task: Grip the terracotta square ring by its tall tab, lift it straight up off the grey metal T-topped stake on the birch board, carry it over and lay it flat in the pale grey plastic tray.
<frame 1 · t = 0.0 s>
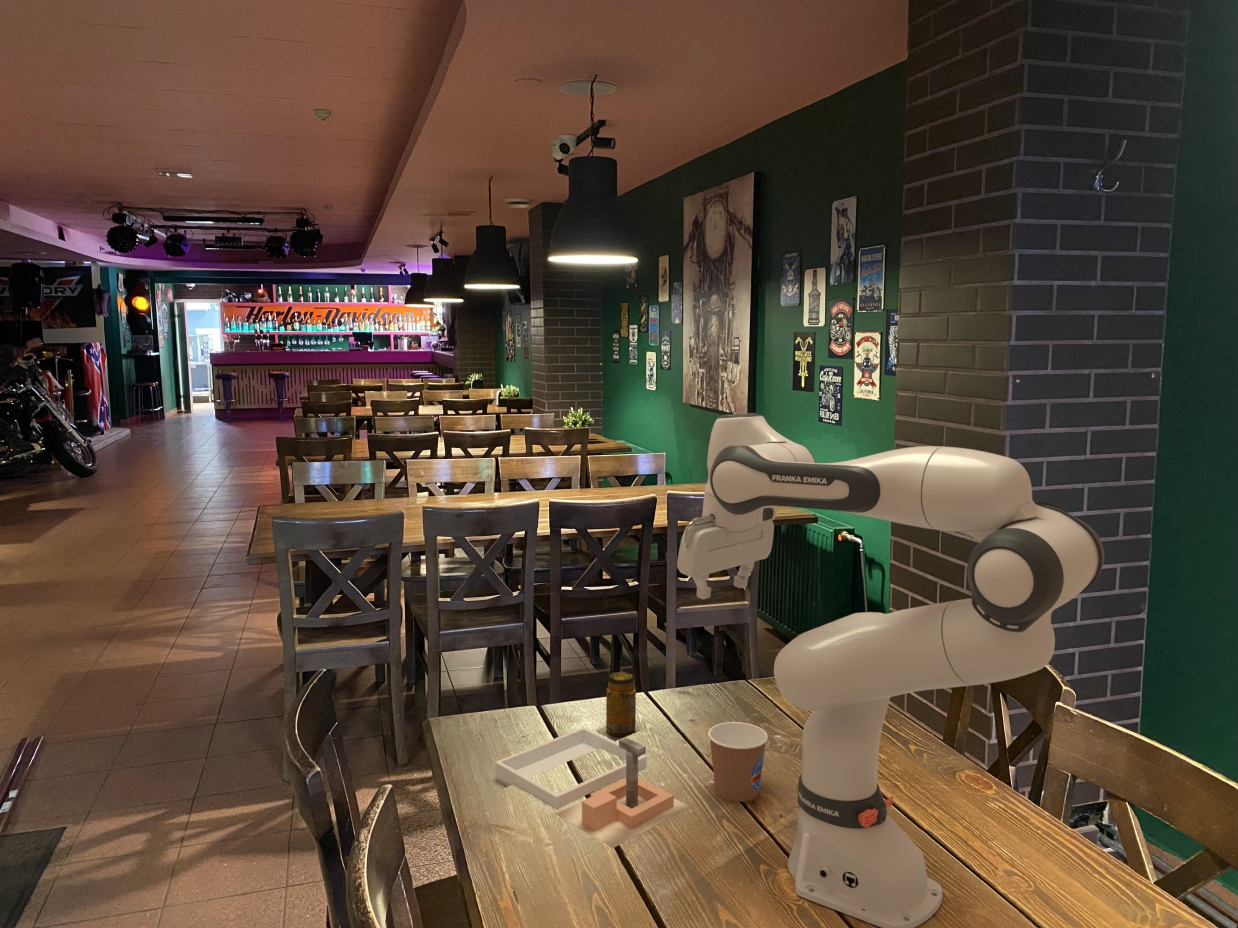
hand: (722, 592, 146), 39 cm above the table, tool pointing down, fingers open, 8 cm apart
condiment: (623, 734, 182), on the table
coffee cup: (736, 799, 156), on the table
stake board: (623, 818, 149), on the table
tray: (571, 777, 164), on the table
ring: (631, 805, 150), point 1 cm above the table, touching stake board
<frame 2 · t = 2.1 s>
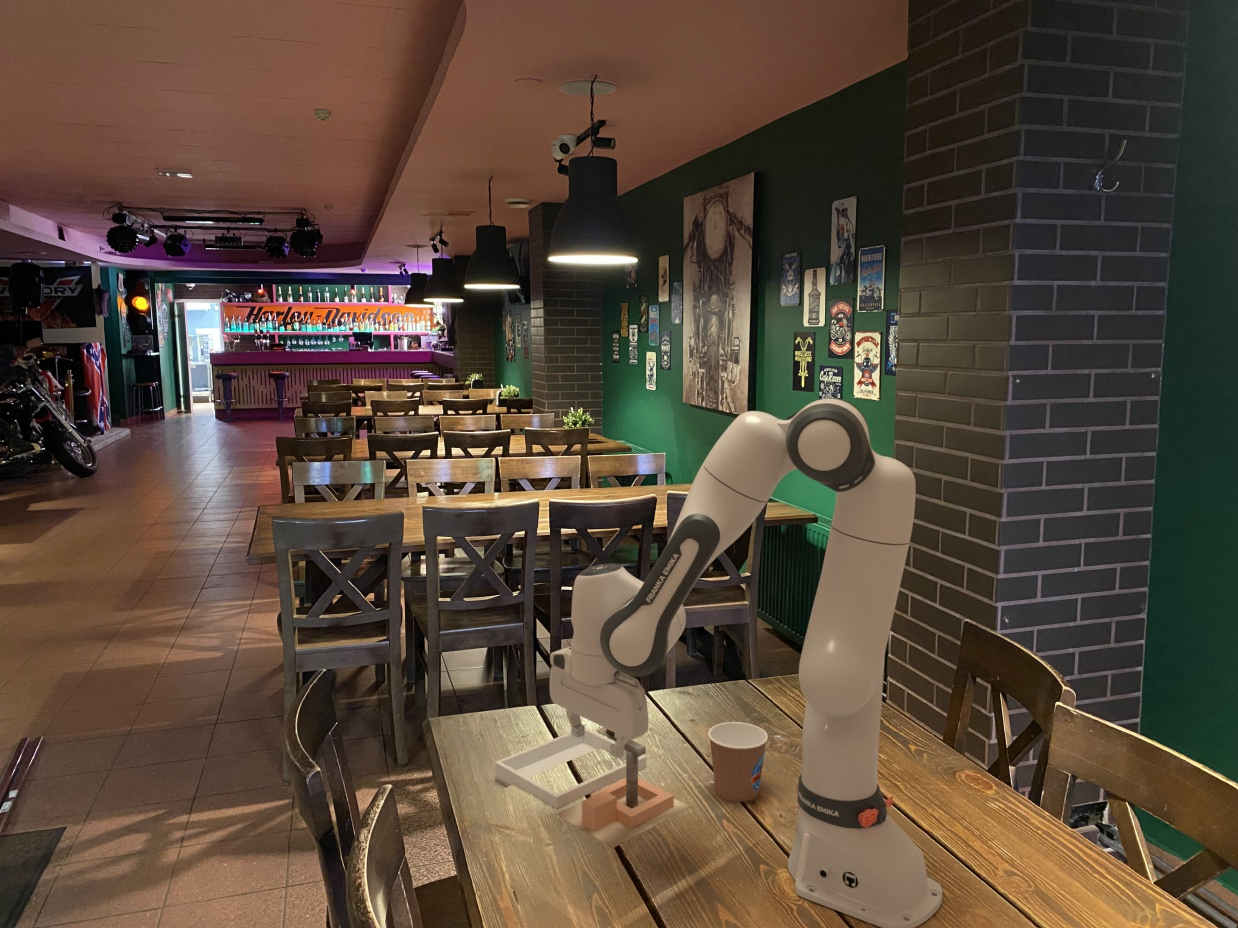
hand: (596, 745, 144), 15 cm above the table, tool pointing down, fingers open, 8 cm apart
nothing on the table moved.
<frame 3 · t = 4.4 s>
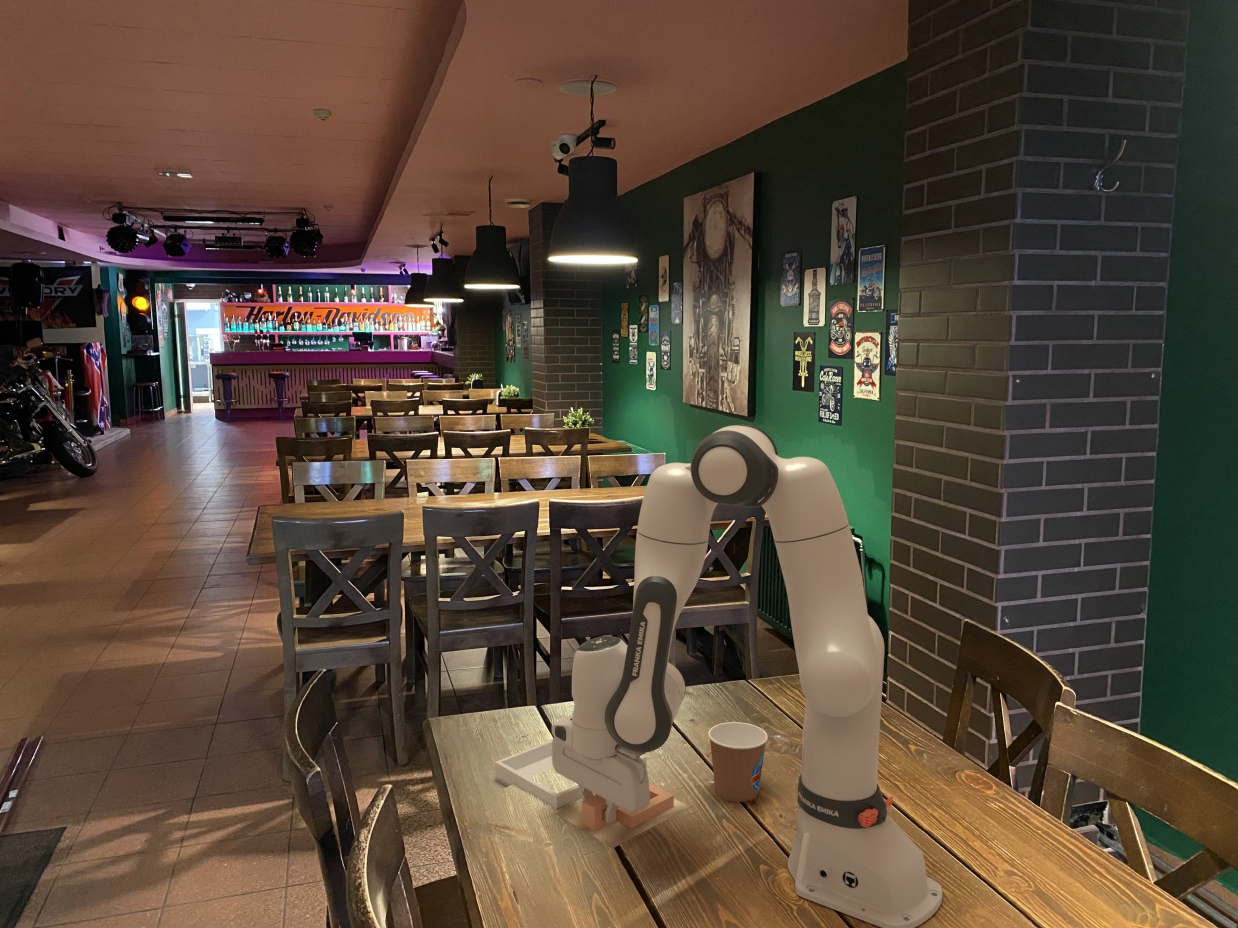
hand: (599, 815, 145), 3 cm above the table, tool pointing down, fingers closed on ring, 3 cm apart
ring: (632, 805, 150), point 2 cm above the table, touching gripper, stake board
everything else where it was.
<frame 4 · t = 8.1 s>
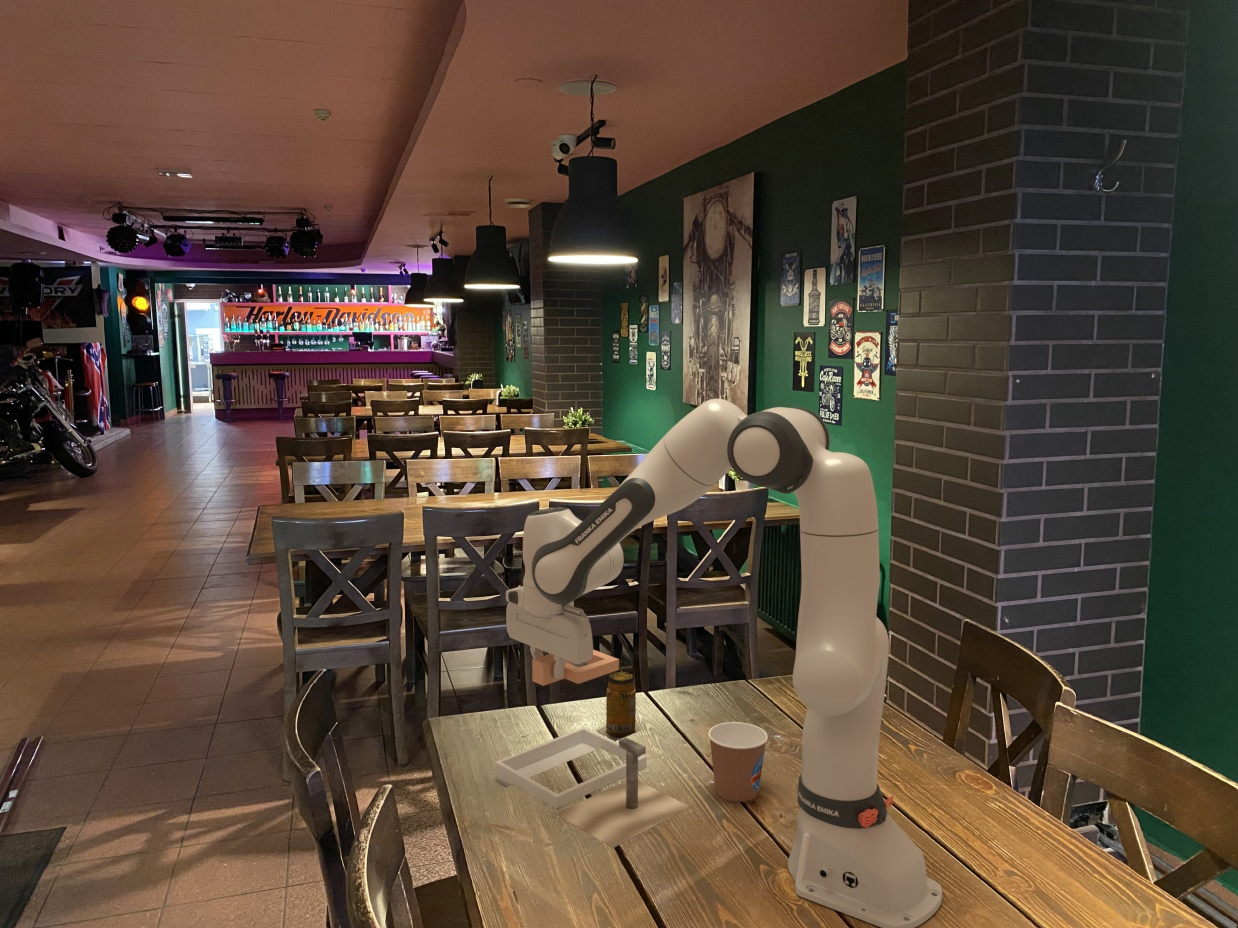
hand: (549, 673, 157), 21 cm above the table, tool pointing down, fingers closed on ring, 3 cm apart
ring: (580, 669, 163), point 20 cm above the table, touching gripper
everything else where it was.
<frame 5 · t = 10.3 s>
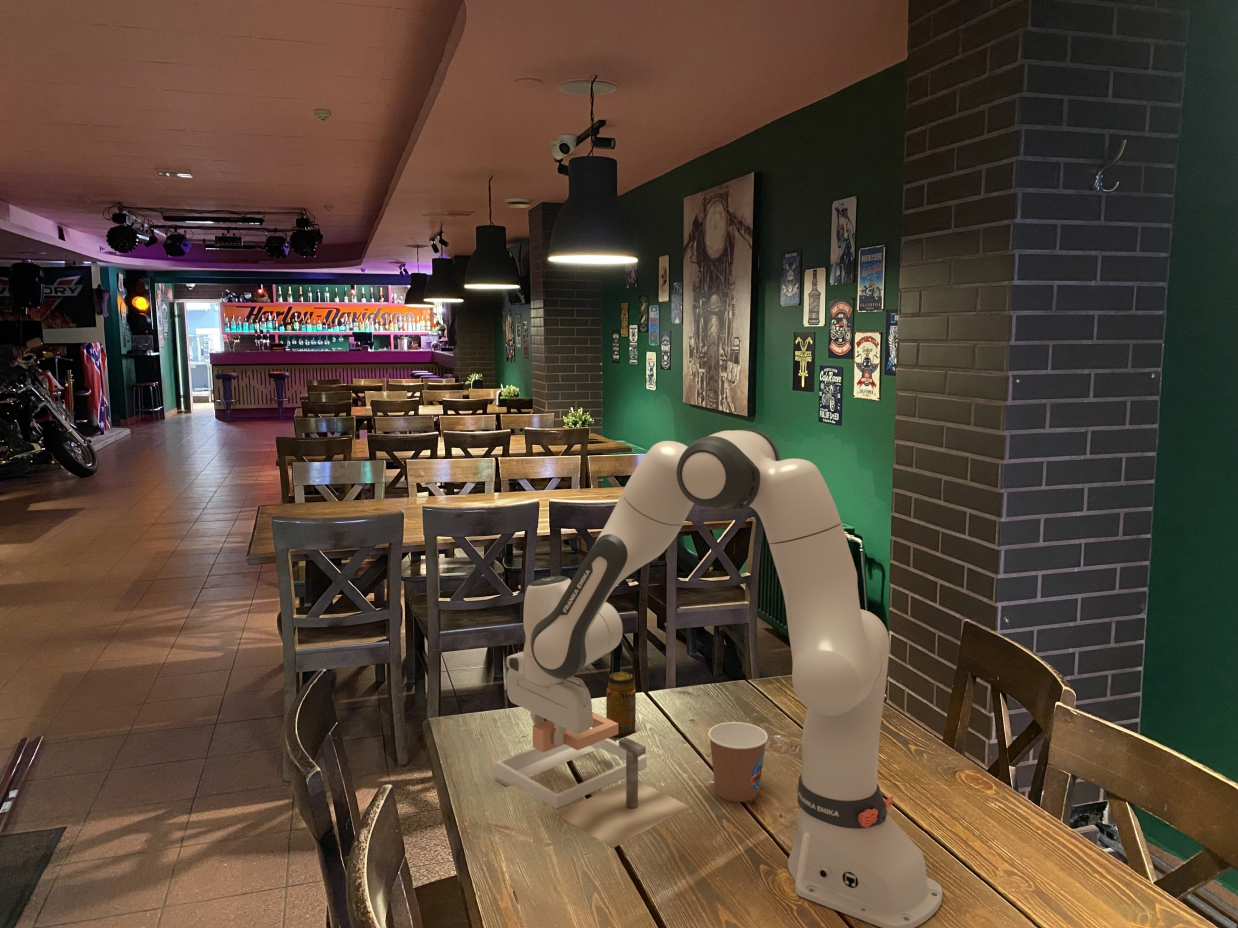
hand: (549, 739, 159), 9 cm above the table, tool pointing down, fingers closed on ring, 3 cm apart
ring: (580, 732, 164), point 8 cm above the table, touching gripper
everything else where it was.
when the fingers open (4 cm above the table, at t = 12.1 s): ring drops 2 cm, resting on tray.
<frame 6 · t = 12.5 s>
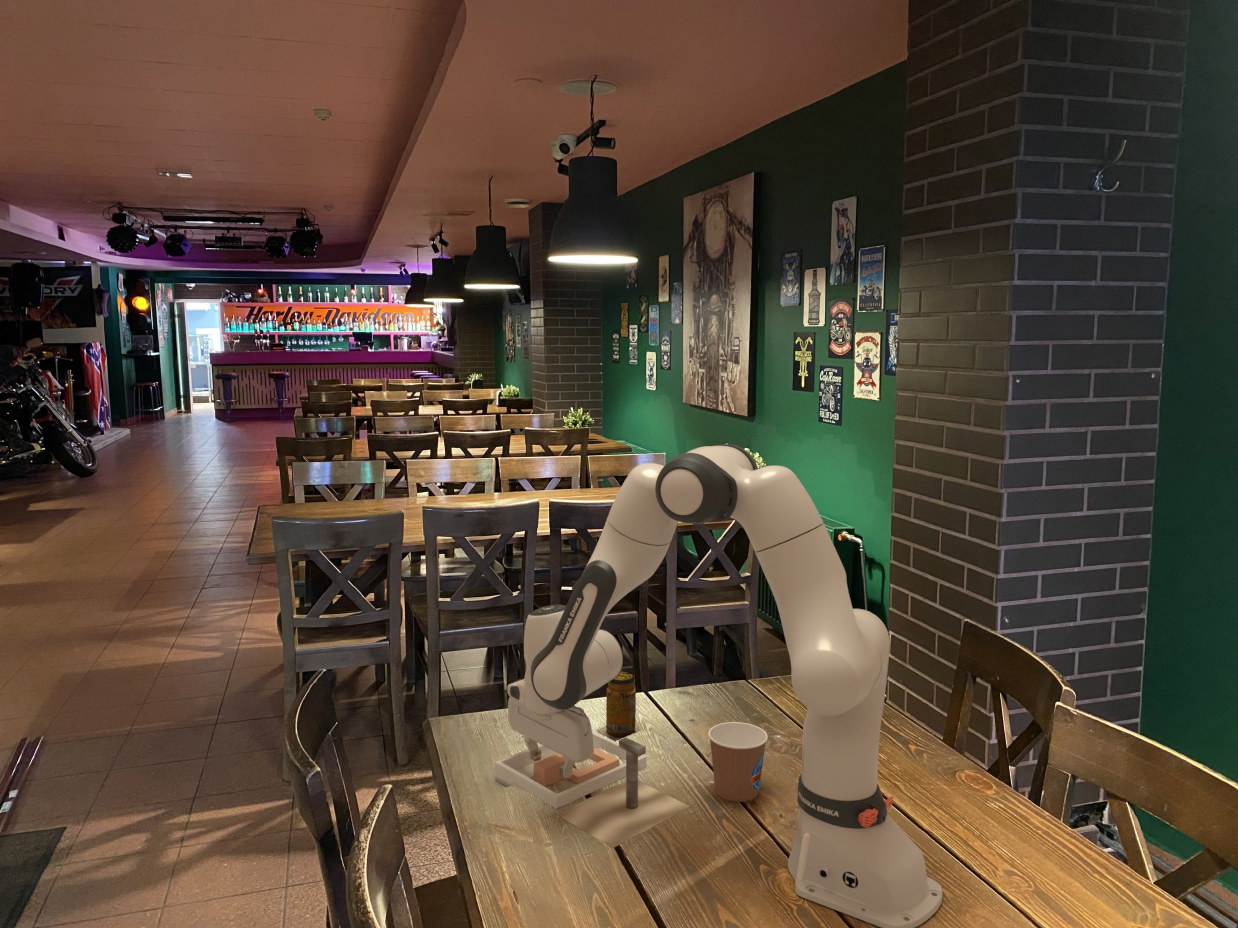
hand: (550, 767, 160), 4 cm above the table, tool pointing down, fingers open, 7 cm apart
ring: (581, 768, 165), point 1 cm above the table, touching tray
everything else where it was.
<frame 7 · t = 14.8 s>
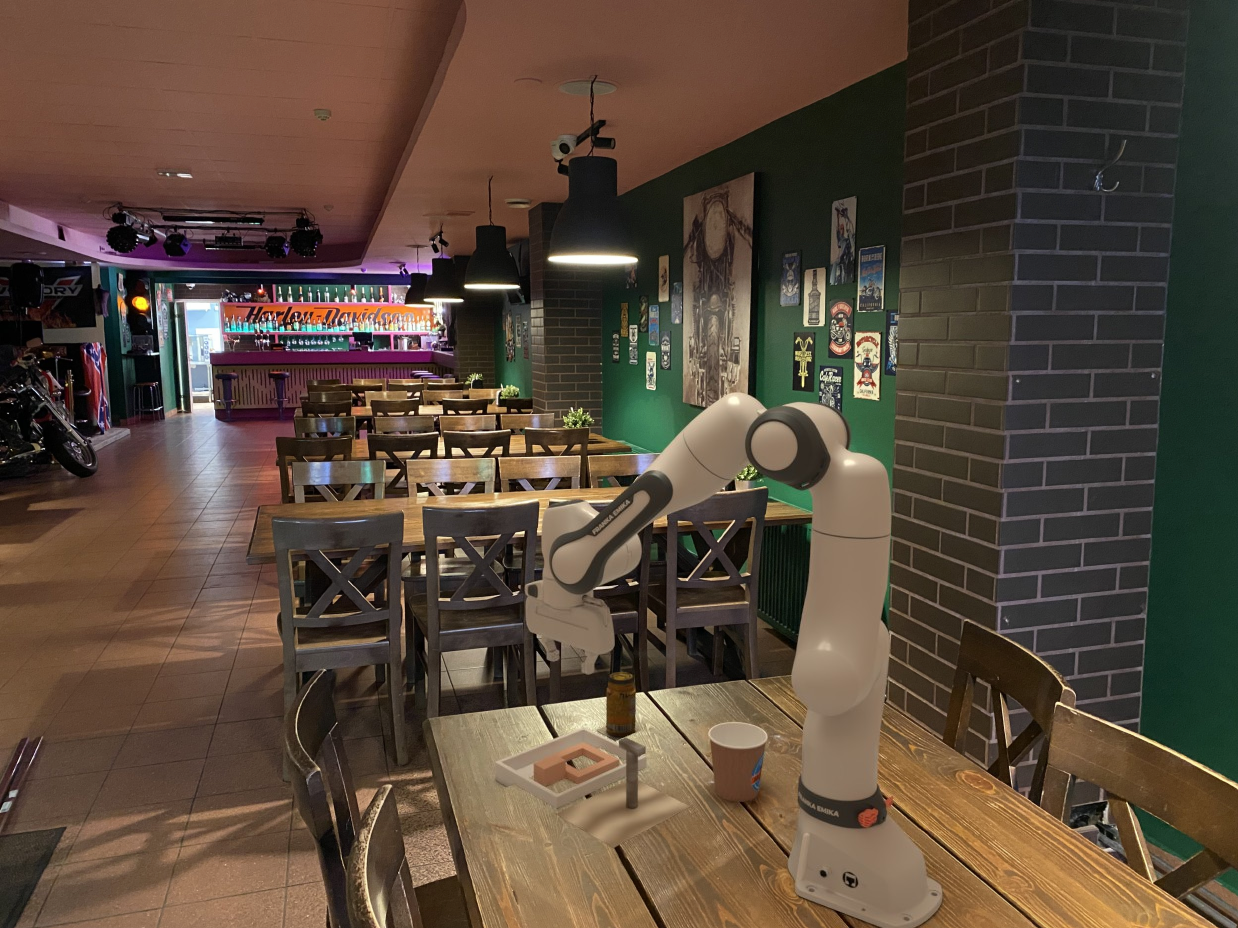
hand: (570, 666, 158), 22 cm above the table, tool pointing down, fingers open, 8 cm apart
nothing on the table moved.
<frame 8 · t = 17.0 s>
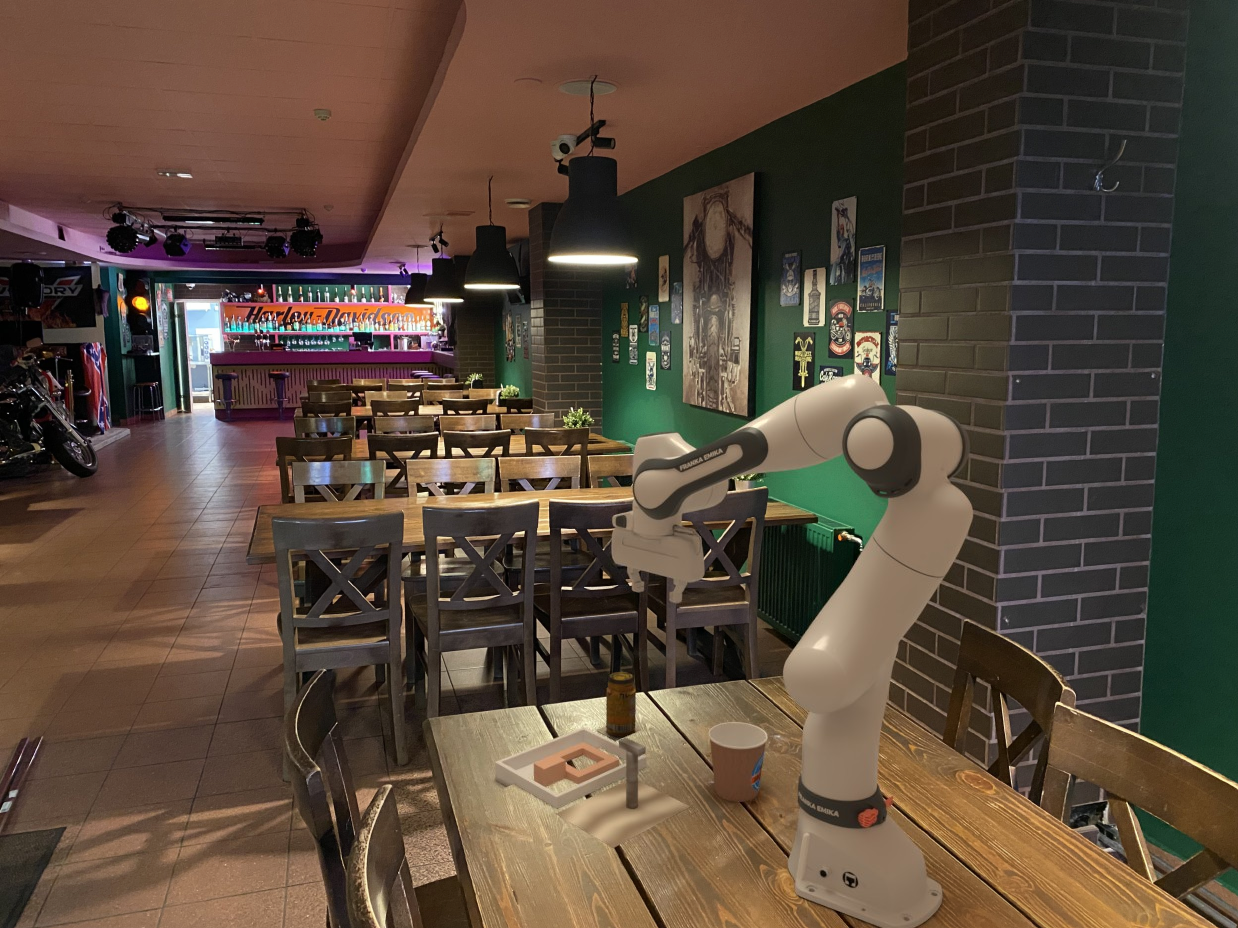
hand: (656, 596, 160), 34 cm above the table, tool pointing down, fingers open, 8 cm apart
nothing on the table moved.
at the end: ring inside the target area on the tray (0.2 cm from its centre), point 0.8 cm above the tray's base; ring tilted 0°; the gripper is holding nothing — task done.
